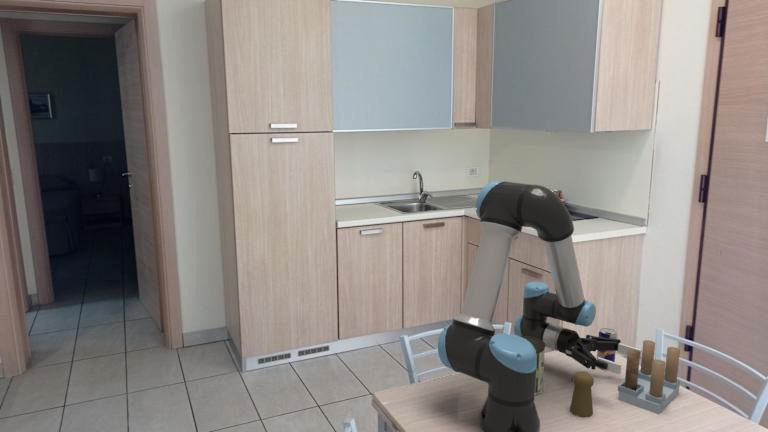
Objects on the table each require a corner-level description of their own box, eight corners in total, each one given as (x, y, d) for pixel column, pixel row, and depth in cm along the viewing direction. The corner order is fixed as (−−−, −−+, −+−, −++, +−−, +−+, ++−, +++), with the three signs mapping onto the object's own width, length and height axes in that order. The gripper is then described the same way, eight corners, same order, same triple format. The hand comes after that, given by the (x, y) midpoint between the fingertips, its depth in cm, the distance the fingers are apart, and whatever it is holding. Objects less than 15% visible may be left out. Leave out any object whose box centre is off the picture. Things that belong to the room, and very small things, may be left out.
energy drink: (596, 369, 179) (599, 333, 176) (595, 361, 184) (598, 327, 181) (614, 371, 177) (617, 335, 175) (613, 363, 182) (616, 329, 180)
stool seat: (617, 398, 161) (620, 354, 158) (638, 379, 172) (642, 338, 169) (658, 413, 153) (663, 367, 150) (678, 392, 164) (683, 349, 161)
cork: (594, 418, 151) (597, 380, 148) (571, 415, 152) (573, 378, 150) (591, 406, 156) (594, 369, 154) (568, 404, 158) (571, 367, 155)
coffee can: (505, 378, 173) (507, 334, 170) (540, 380, 172) (542, 336, 169) (508, 394, 163) (510, 349, 160) (545, 397, 162) (548, 350, 159)
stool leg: (622, 391, 160) (625, 351, 157) (626, 387, 162) (630, 348, 160) (633, 395, 158) (637, 355, 155) (638, 391, 160) (642, 351, 157)
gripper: (580, 339, 183) (647, 360, 168) (539, 363, 166) (610, 389, 151) (581, 317, 182) (649, 336, 167) (540, 339, 165) (612, 363, 150)
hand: (631, 361), depth 159 cm, fingers open, 13 cm apart
